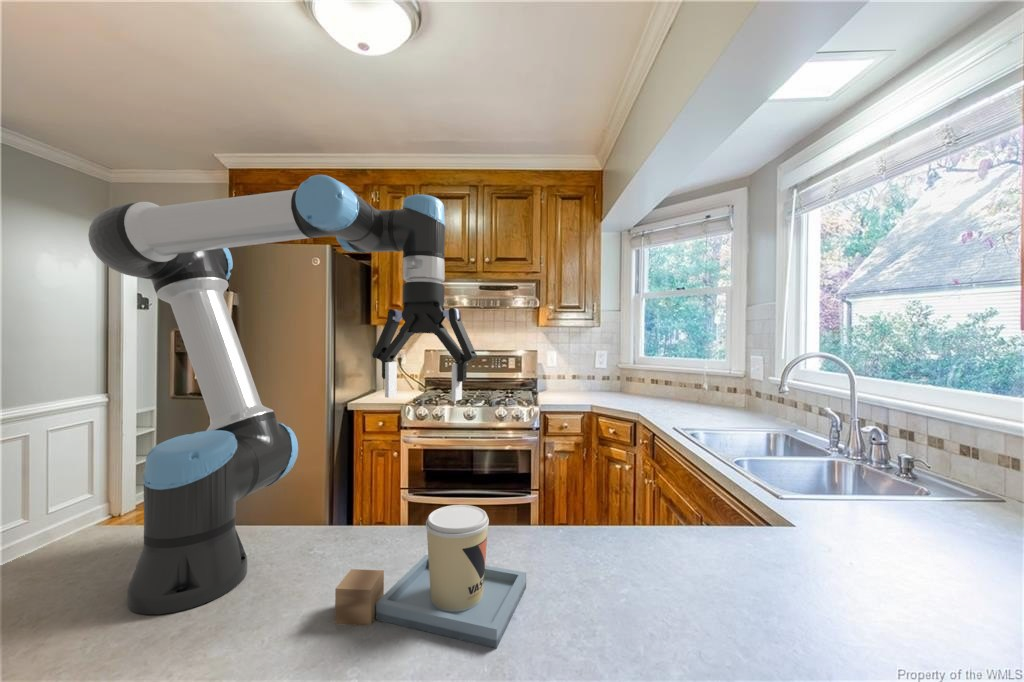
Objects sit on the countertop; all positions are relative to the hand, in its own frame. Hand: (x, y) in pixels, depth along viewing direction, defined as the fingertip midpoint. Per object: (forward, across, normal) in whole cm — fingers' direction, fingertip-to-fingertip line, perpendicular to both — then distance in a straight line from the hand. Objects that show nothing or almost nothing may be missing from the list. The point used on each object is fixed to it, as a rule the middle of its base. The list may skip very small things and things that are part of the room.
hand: (423, 398), depth 77 cm
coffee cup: (+28, +12, -11) cm, 32 cm away
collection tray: (+29, +12, -11) cm, 33 cm away
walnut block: (+29, 0, -18) cm, 34 cm away
